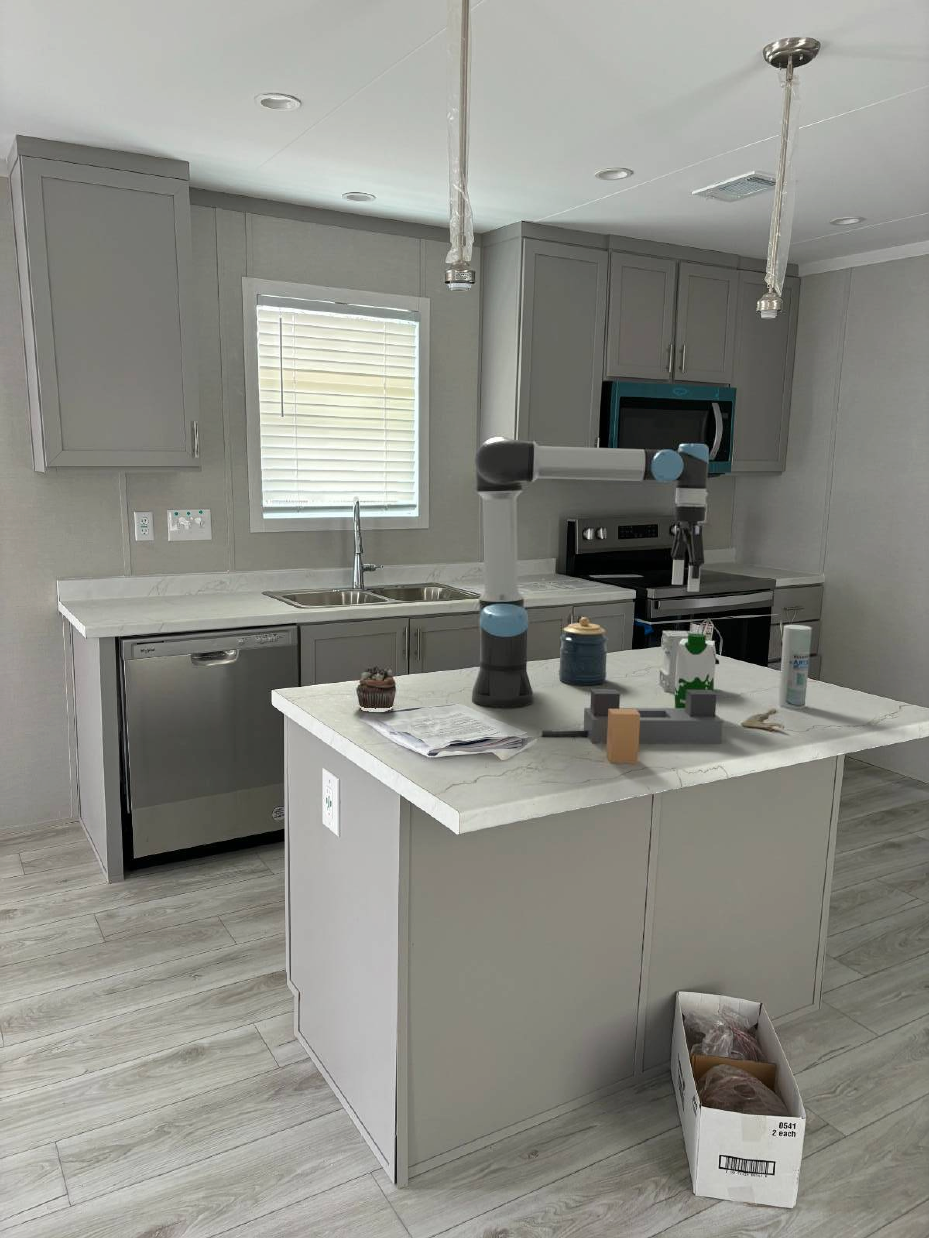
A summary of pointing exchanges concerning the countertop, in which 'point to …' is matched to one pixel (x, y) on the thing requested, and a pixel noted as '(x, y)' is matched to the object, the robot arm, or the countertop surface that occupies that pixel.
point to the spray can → (794, 666)
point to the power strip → (655, 719)
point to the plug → (623, 735)
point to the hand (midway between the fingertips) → (685, 588)
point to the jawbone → (756, 721)
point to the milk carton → (694, 666)
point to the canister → (583, 654)
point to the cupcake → (376, 689)
